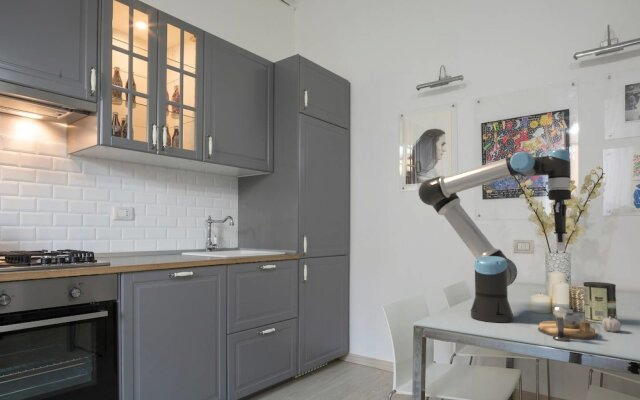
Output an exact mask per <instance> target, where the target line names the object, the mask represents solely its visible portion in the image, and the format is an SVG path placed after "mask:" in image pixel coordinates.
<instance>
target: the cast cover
mask: <svg viewBox="0 0 640 400" xmlns="http://www.w3.org/2000/svg"><path fill="white" fill-rule="evenodd" d="M564 309H565V310H566V312H567V314H566V316H565V317H564V318H563V324H564V328H568V329H580V321H581V315H580V314H578V313H574V310H573V309H570V308H564ZM555 321H556V326H558V318H557V317H555Z"/></svg>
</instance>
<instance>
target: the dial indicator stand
mask: <svg viewBox="0 0 640 400" xmlns="http://www.w3.org/2000/svg"><path fill="white" fill-rule="evenodd" d="M565 309H566V308H564V307H562V306H556V307H554V308H553V310H552V314H553V316H554V317H555V318H556V317H557V318H558V335H553V336H552V339H553V340H554V341H558V342H569V341H570V339H569V337H566V336H564V324H563V318H564V317H565V316H566V314H567V312H566V310H565Z"/></svg>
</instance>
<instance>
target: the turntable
mask: <svg viewBox="0 0 640 400" xmlns="http://www.w3.org/2000/svg"><path fill="white" fill-rule="evenodd" d="M538 325H539V327H540V330H541V331H543V332H546V333H549V334H553V335H558V326H556V320H545V321H544V320H543V321H541V322H539V323H538ZM595 334H596V329H595V328H594V327H592V326H591V321H587V320H584V321H583V320H580V329H568V328H564V336H566V337H572V338H591V337H594V336H595Z"/></svg>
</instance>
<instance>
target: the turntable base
mask: <svg viewBox="0 0 640 400" xmlns="http://www.w3.org/2000/svg"><path fill="white" fill-rule="evenodd" d="M537 331H538V332H539V333H542V334H544V335H547V336H550V337H553V334H549V333H546V332H543V331H541V330H540V326H539V327H538V328H537ZM597 338H598V335H597V333H595V336H594V337H591V338H572V337H569V340H579V341H581V340H584V341H585V340H587V341H588V340H589V341H590V340H595V339H597Z"/></svg>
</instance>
